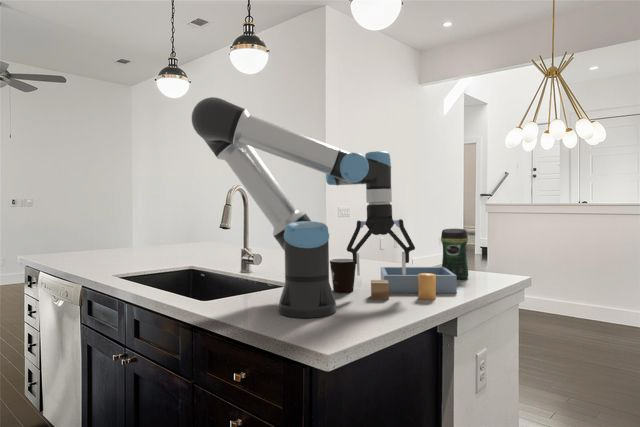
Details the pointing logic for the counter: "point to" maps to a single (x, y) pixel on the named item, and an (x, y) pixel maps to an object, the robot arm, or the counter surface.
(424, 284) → the orange cylinder
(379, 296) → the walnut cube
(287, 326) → the counter surface
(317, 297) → the robot arm
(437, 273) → the tote
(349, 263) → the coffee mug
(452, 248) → the coffee jar
